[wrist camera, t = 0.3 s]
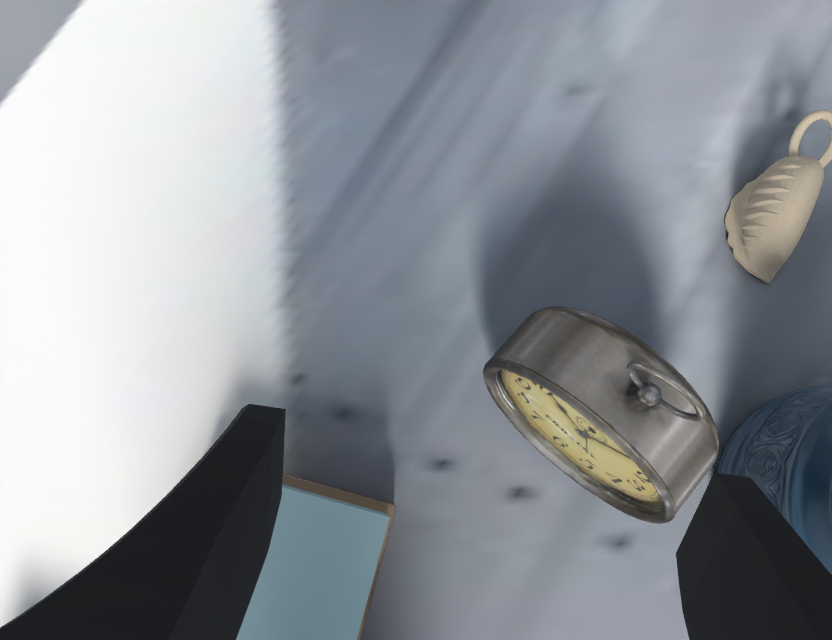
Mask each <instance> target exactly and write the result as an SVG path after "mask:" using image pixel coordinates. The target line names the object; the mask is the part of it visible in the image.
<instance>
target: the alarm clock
mask: <svg viewBox="0 0 832 640" xmlns="http://www.w3.org/2000/svg"><path fill="white" fill-rule="evenodd" d="M483 374H484V381H485V384H486V386H487V389H488V391H489V392H490V394H491V396H492V398H493V399H494V401H495V403H496V404H497V406H498V407H499V408H500V409H501V410H502V412H503V413H504V414H505V416H506V417H507V418H508V419H509V420H510V422H511V423H512V424H513V425H514V426H515V428H516V429H517V430H518V431H519V432H520V433H521V434H522V435H523V436H524V437H525V438H526V439H527V440H528V441H529V442H530V443H531V444H532V445H533V446H534V447H535V448H536V449H537V450H538V451H539V452H541V453H542V454H543V455H544V456H545V457H546V458H547V459H548V460H550V461H551V462H552V463H553V464H554V465H555V466H557V467H558V468H559V469H560V470H562V471H563V472H564V473H565V474H567V475H568V476H569V477H571V478H572V479H573V480H574V481H576V482H577V483H578V484H580V485H581V486H582V487H584V488H585V489H587V490H588V491H590V492H591V493H593V494H594V495H596V496H598V497H599V498H600V499H602V500H603V501H605V502H606V503H608V504H610V505H612V506H613V507H615V508H617V509H618V510H620V511H622V512H624V513H626V514H628V515H630V516H633V517H635V518H637V519H640V520H643V521H647V522H651V523H658V524H659V523H666V522H669V521H671V520H672V519H673V518H674V517H675V514H676V513H677V511H678V510H679V508H680V507H681V506H682V504H683V503H684V502H685V501H686V499H687V498H688V497H689V495H690V494H691V493H692V492H693V490H694V489H695V488H696V486H697V485H698V484H699V482H700V481H701V480H702V479H703V477H704V476H705V475H706V473H707V472H708V471H709V470H710V468H711V467H712V466H713V464H714V463H715V461H716V459H717V456H718V452H719V439H718V434H717V429H716V426H715V423H714V421H713V419H712V417H711V414H710V412H709V410H708V409H707V407H706V405H705V404H704V402H703V401H702V399H701V398H700V397H699V395H698V394H697V392H696V391H695V390H694V389H693V387H692V386H691V385H690V384H689V383H688V382H687V381H686V379H685V378H684V377H683V376H682V375H681V374H680V373H679V372H678V371H677V370H676V369H675V368H674V367H673V366H672V365H671V364H669V363H668V362H667V361H666V360H665V359H664V358H663V357H662V356H661V355H659V354H658V353H657V352H655V351H654V350H653V349H652V348H650V347H649V346H648V345H647V344H645V343H644V342H642V341H641V340H639V339H638V338H637V337H635V336H634V335H632V334H630V333H629V332H627V331H626V330H624V329H622V328H620V327H619V326H617V325H615V324H613V323H611V322H609V321H607V320H605V319H603V318H601V317H598V316H596V315H594V314H591V313H588V312H586V311H582V310H579V309H575V308H568V307H549V308H544V309H541V310H538V311H536V312H534V313H533V314H531V315H530V316H529V317H528V318H527V319H526V320H525V321H524V322H523V323H522V325H521V326H520V327H519V328H518V329H517V330H516V331H515V332H514V333H513V334H512V336H511V337H510V338H509V339H508V340H507V341H506V342H505V343H504V345H503V346H502V347H501V348H500V349H499V350H498V351H497V352H496V353H495V355H494V356H493V357H492V358H491V359H490V360H489V361H488V362H487V363H486V364H485V366H484V370H483Z"/></svg>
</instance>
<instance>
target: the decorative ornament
mask: <svg viewBox="0 0 832 640" xmlns="http://www.w3.org/2000/svg"><path fill="white" fill-rule="evenodd" d="M820 119H823V120H826V121H827V122H828V123H829V124H830V127H831V139H830V143H829V146H828V148H827V150H826V152H825V153H824V155H823V156H822V157H821V158H820V159H819V160H818V161H817V160H816V159H814V158H811V157H806V156H799V143H800V140H801V137H802V136H803V134H804V132H805V130H806V129H807V128H808V127H809V125H810V124H812V123H813V122H814V121H816V120H820ZM831 160H832V112H830V111H827V110H819V111H815V112H812V113H811V114H809V115H807V116H806V117H805V118H804V119H803V120H802V121H801V122H800V123H799V124H798V126H797V127H796V129H795V131H794V133H793V135H792V137H791V140H790V144H789V156H787V157H784V158H781V159H780V160H778V161H776V162H775V163H774V164H772V165H771V166H770V167H769V168H768V169H767V170H765V172H764V173H763V174H760V175H759V176H758V177H757V178H756V179H755V180H753V181H751V182H748V183H747V184H746V185H745V186H744V188H743V189H742V190H741V191H740V192H739V193H737V194H736V195H735V196H734V197H733V199H732V200H731V204H730V208H729V210H728V212H727V214H726V218H725V227H726V230H727V232H728V234H729V236H728V240H727V242H728V244H729V245H730V246H731V247H732V248H733V256H734V258H735V259H736V260H737V261H738V262H739V263H740V264H741V265H742V266H743V268H744V269H745V270H747V271H748V272H749V273H750V274H752V275H754V276H755V277H757V278H759V279H760V280H762V281H764V282H766V283H768V284H770V282H771V281H772V279H773V278H774V276H775V275H776V273H777V272H778V270H779V269H780V268H781V267H782V266H783V265H784V264H785V262H786V261H787V260H788V258H789V257H790V255H791V254H792V252H793V251H794V249H795V247H796V246H797V244H798V242H799V240H800V238H801V236H802V234H803V232H804V230H805V227H806V225H807V223H808V221H809V218H810V216H811V214H812V211H813V209H814V206H815V204H816V201H817V199H818V196H819V193H820V190H821V186H822V183H823V180H824V169H823V168H824V167H825V166H826V165H827V164H828V163H829V162H830V161H831Z"/></svg>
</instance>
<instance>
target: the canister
mask: <svg viewBox="0 0 832 640" xmlns="http://www.w3.org/2000/svg"><path fill="white" fill-rule="evenodd" d="M716 473H723V474H730V475H736V476H743V477H750V478H751V479H752V480H753V481H754V482H755V483H756V484H757V486H758V487H759V488H760V489H761V490H762V491H763V493H764V494H765V495H766V496H767V497H768V499H769V500H770V501H771V502H772V503H773V505H774V506H775V507H776V508H777V510H778V511H779V512H780V513H781V514H782V516H783V517H784V518H785V519H786V521H787V522H788V523H789V524H790V525H791V527H792V528H793V529H794V530H795V532H796V533H797V534H798V535H799V536H800V538H801V539H802V540H803V541H804V543H805V544H806V545H807V546H808V547H809V549H810V550H811V551H812V552H813V553H814V555H815V556H816V557H817V558H818V559H819V561H820V562H821V563H822V564H823V565H824V566H825V568H826V569H827V570H828V571H829V572H830V573H831V575H832V385H823V386H815V387H810V388H805V389H800V390H796V391H793V392H790V393H787V394H784V395H782V396H780V397H778V398H776V399H774V400H772V401H771V402H769V403H767V404H766V405H764V406H763V407H761V408H760V409H758V410H757V411H755V412H754V413H753V414H751V415H750V416H749V417H748V418H747V419H746V420H745V421H744V422H743V423H742V424H741V425H740V426H739V427H738V428H737V429H736V431H735V432H734V433H733V435H732V436H731V438H730V439H729V441H728V443H727V445H726V446H725V449H724V451H723V453H722V455H721V458H720V461H719V464H718V467H717V471H716Z"/></svg>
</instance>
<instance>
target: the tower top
mask: <svg viewBox="0 0 832 640" xmlns="http://www.w3.org/2000/svg"><path fill="white" fill-rule="evenodd" d="M389 520H390V516H389V514H388V513H384V512H381V511H377V510H373V509H370V508H366V507H363V506H359V505H355V504H352V503H348V502H345V501H341V500H337V499H334V498H330V497H327V496H323V495H319V494H316V493H312V492H309V491H305V490H301V489H298V488H294V487H291V486H287V485H283V484H282V497H281V501H280V505H279V509H278V514H277V518H276V522H275V526H274V530H273V534H272V538H271V542H270V546H269V550H268V553H267V556H266V559H265V562H264V565H263V567H262V570H261V573H260V576H259V578H258V581H257V584H256V587H255V589H254V592H253V595H252V598H251V600H250V603H249V606H248V609H247V611H246V614H245V617H244V619H243V622H242V625H241V628H240V630H239V633H238V636H237V639H236V640H357V637H358V634H359V630H360V626H361V623H362V619H363V615H364V612H365V608H366V604H367V601H368V597H369V593H370V590H371V586H372V582H373V578H374V575H375V571H376V567H377V564H378V560H379V556H380V553H381V549H382V545H383V542H384V538H385V534H386V531H387V527H388V523H389Z"/></svg>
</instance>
